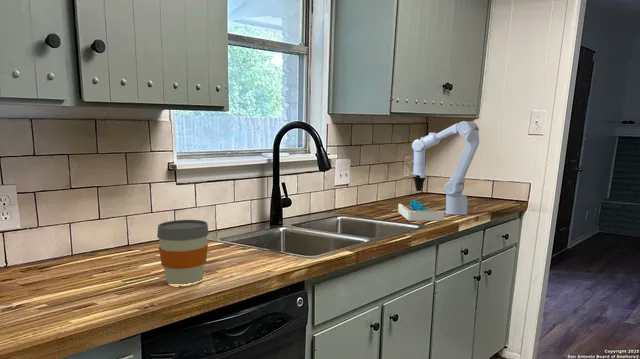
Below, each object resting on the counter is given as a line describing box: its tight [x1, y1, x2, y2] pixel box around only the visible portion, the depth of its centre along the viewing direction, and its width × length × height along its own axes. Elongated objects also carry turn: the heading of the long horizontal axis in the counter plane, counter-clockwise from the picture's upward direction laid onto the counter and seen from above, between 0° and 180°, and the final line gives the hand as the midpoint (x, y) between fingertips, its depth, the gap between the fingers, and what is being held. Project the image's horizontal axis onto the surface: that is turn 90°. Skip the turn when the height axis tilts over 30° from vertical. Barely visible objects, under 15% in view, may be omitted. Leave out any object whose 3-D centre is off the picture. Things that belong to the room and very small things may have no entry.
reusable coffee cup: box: [156, 219, 210, 284], centre depth 117 cm, size 13×12×15 cm
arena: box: [397, 203, 445, 222], centre depth 211 cm, size 16×22×4 cm
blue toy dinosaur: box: [409, 199, 430, 211], centre depth 210 cm, size 11×6×10 cm
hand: (418, 190), depth 229 cm, fingers closed
